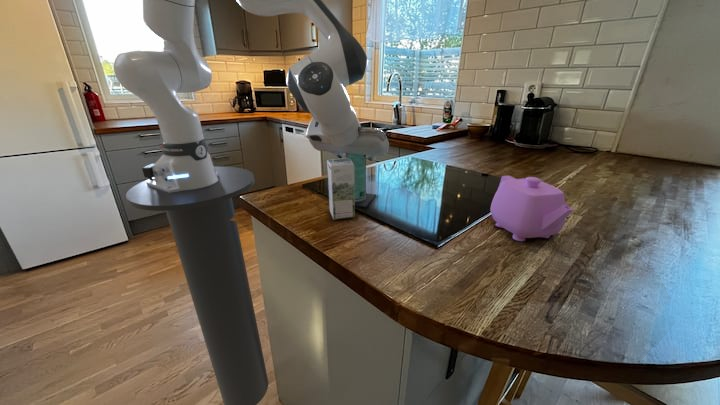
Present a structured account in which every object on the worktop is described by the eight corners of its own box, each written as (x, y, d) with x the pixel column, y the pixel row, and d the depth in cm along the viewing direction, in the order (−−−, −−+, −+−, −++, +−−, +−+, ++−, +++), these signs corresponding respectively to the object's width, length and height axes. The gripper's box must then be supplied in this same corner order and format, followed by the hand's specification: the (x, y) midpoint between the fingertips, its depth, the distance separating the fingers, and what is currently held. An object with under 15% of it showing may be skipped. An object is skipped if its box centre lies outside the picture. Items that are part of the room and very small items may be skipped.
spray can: (368, 195, 88) (368, 127, 80) (362, 202, 83) (362, 130, 75) (350, 193, 89) (349, 126, 81) (344, 200, 85) (342, 129, 77)
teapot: (474, 214, 77) (482, 167, 72) (516, 210, 79) (527, 164, 74) (529, 258, 59) (545, 199, 54) (582, 250, 61) (602, 193, 56)
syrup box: (350, 208, 81) (348, 156, 75) (355, 218, 76) (354, 163, 70) (329, 211, 80) (326, 158, 74) (333, 221, 74) (330, 165, 68)
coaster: (336, 203, 84) (336, 202, 84) (348, 192, 92) (348, 191, 92) (365, 208, 81) (365, 206, 81) (375, 196, 89) (375, 194, 89)
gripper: (386, 117, 67) (395, 150, 80) (307, 114, 74) (327, 145, 86) (380, 141, 65) (390, 171, 78) (299, 135, 72) (320, 164, 84)
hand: (356, 157), depth 82 cm, fingers open, 8 cm apart
